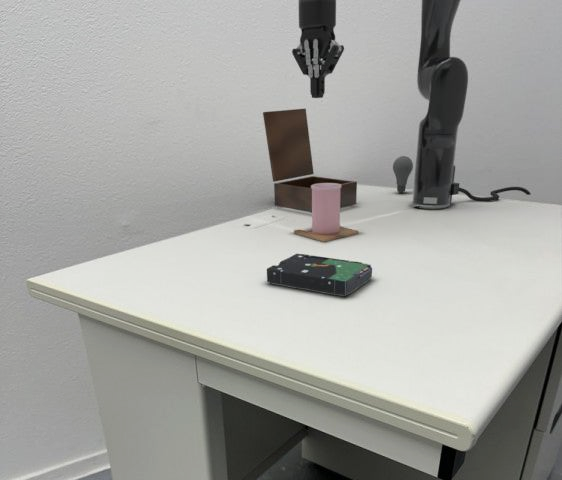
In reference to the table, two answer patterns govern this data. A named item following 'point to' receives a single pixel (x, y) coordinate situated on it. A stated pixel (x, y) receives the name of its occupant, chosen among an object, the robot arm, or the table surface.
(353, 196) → the chest
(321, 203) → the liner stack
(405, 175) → the light bulb
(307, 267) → the disk drive
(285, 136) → the chest lid
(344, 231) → the cork pad
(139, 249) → the table surface
